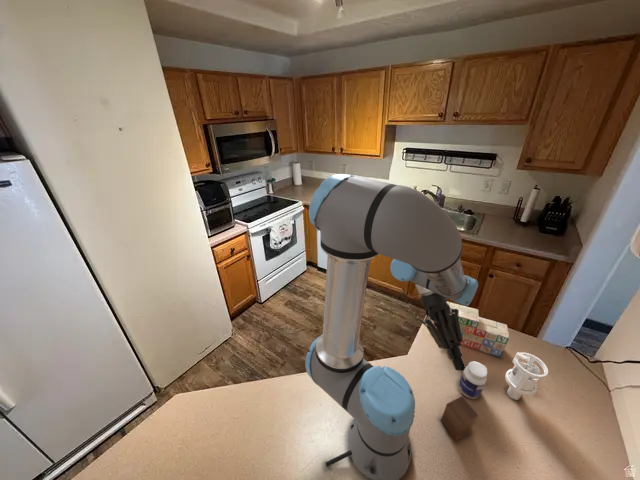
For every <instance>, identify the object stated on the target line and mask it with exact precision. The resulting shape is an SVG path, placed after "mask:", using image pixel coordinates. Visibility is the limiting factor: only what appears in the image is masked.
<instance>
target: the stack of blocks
mask: <svg viewBox="0 0 640 480" xmlns="http://www.w3.org/2000/svg"><path fill="white" fill-rule="evenodd" d="M447 304H448V305H449V306H450V308H452V309H458V320H459V325H460V329H461V334H462V339H463V341H462V342H460V343H461V346H465V347H468V348H471V349H474V350H477V351H480V352H483V353H486V354H489V355H491V356H495V357H499V358H501V357H502V355H503V352H504V351H505V349H506V347H507V344H508V342H509V339H510V334H509V328H508V324H505V323H501V322H498V321H495V320H492V319H488V318H484V317H481V316H480V315H479V309H478V308H474V307H470V306H465V305H462V304H460V303H456V302H452V301H448V300H447ZM434 326H435V325H434ZM435 327H436V326H435ZM436 329H437V327H436Z"/></svg>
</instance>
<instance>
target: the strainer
mask: <svg viewBox="0 0 640 480" xmlns="http://www.w3.org/2000/svg"><path fill="white" fill-rule="evenodd" d="M520 359H521V360H523V361H525V362H523V361H519V360H520ZM526 362H527V363H526ZM535 362H536V363H537V364H538V365H539V366H540V367H541V368H542V370H543V373H542V374H541V373H540V371H541V369H540V367H539V366H538V365H537V364H536V363H535ZM512 364H514V366H513V367H512V368H510V369H508V370H507V371H506V373H505V375H504V379H505V381H506V383H507V384H508V386H509V387H508V388H507V390H506V393H507V395H508V397H509V398H511V399H512V400H515V401H517V400H520V398H521V396H522V395H523V396H528V397H529V396H533V395H535V394H536V393H537V391H538V384H537V383H538V382H539V380H543V379H545V378H546V377H547V376H548V374H549V369H548V366H547V365H546V363H545V362H544V361H543V360H541V358H539V357H538V356H536V355H533V354H532V353H528V352H523V351H521V352H519V351H517V352H516V354H515V356H514V357H513V360H512Z"/></svg>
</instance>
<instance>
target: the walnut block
mask: <svg viewBox="0 0 640 480" xmlns="http://www.w3.org/2000/svg"><path fill="white" fill-rule="evenodd" d="M478 417H479V414H478V412H477V411H476V410H475V409H474V408H473V407H472V405H470V404H469V402H468V401H467V400H466V399H465V398H464V397H463V396H460V397H457V398H455V399H454V400H452V401H449V402H447V403H446V406H445V409H444V411H443V414H442V416H441V419H440V422H441V423H442V424H443V425H444V427H445V428H446V429H447V431H448V432H449V433H450V435H451V436H452V438H453V439H454V440H455V441H457V440H458V439H460V438H462V437H464V436H466V435H467V434H469V433H471V431H472V429H473V427H474V426H475V423H476V422H477V419H478Z"/></svg>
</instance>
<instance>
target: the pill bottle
mask: <svg viewBox="0 0 640 480" xmlns="http://www.w3.org/2000/svg"><path fill="white" fill-rule="evenodd" d="M465 367H466V368H465V369H464V371H462V374H461V376H460V378H459V381H458V389H459V391H460V392H461V394H462V395H464V396H465V397H467V398H469V399H473V400H474V399H478V398H479V397H480V395H481V394H482V392H483V389H484V387H485V385H486V383H487V376H488V369H487V368H486V367H485V365H484V364H482V363H480V362H478V361H473V360H471V361H470V362H469V363H468V365H467V366H465Z"/></svg>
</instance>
